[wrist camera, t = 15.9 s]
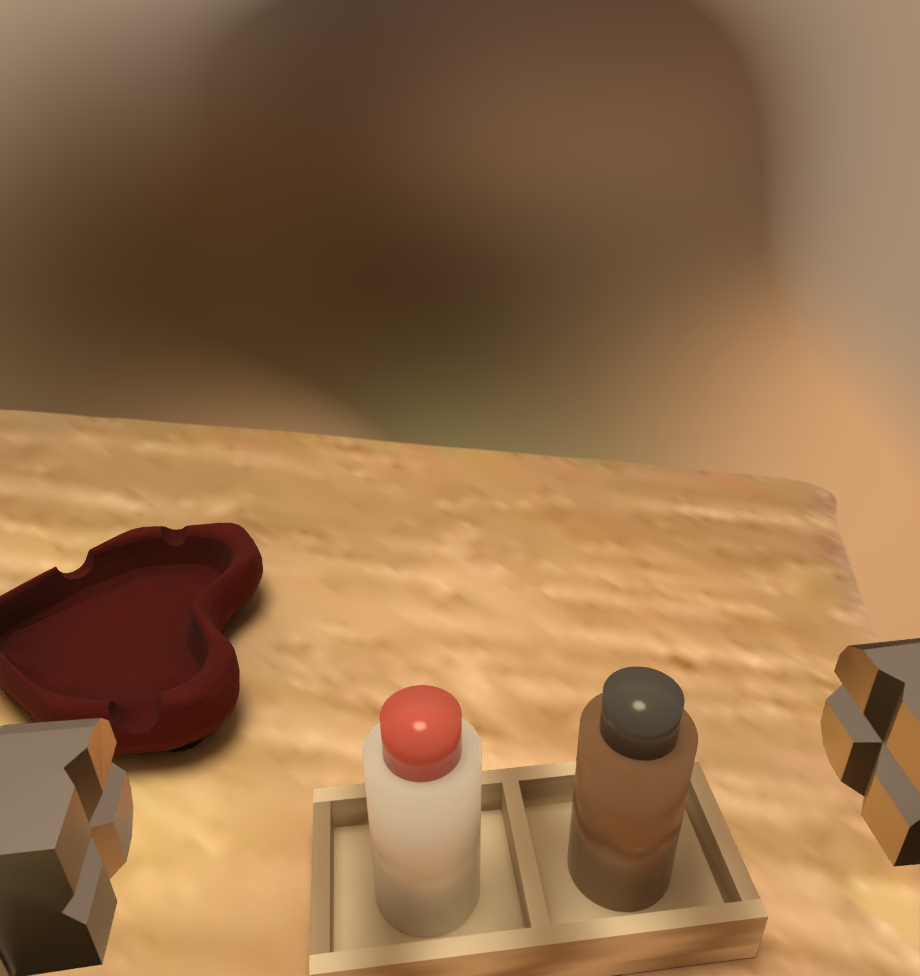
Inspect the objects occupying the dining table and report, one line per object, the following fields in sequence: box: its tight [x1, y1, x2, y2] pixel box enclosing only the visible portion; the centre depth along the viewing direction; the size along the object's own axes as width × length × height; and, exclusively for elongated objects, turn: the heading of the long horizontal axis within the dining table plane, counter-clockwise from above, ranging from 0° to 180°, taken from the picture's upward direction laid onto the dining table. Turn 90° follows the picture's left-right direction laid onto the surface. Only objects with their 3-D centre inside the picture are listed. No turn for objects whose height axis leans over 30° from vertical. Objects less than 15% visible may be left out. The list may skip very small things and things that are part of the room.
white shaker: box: [362, 685, 482, 937], centre depth 36 cm, size 5×5×11 cm
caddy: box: [309, 756, 768, 976], centre depth 39 cm, size 19×9×3 cm, turn 97°
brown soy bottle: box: [567, 667, 698, 912], centre depth 37 cm, size 5×5×11 cm
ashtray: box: [0, 523, 263, 755], centre depth 52 cm, size 18×16×5 cm
